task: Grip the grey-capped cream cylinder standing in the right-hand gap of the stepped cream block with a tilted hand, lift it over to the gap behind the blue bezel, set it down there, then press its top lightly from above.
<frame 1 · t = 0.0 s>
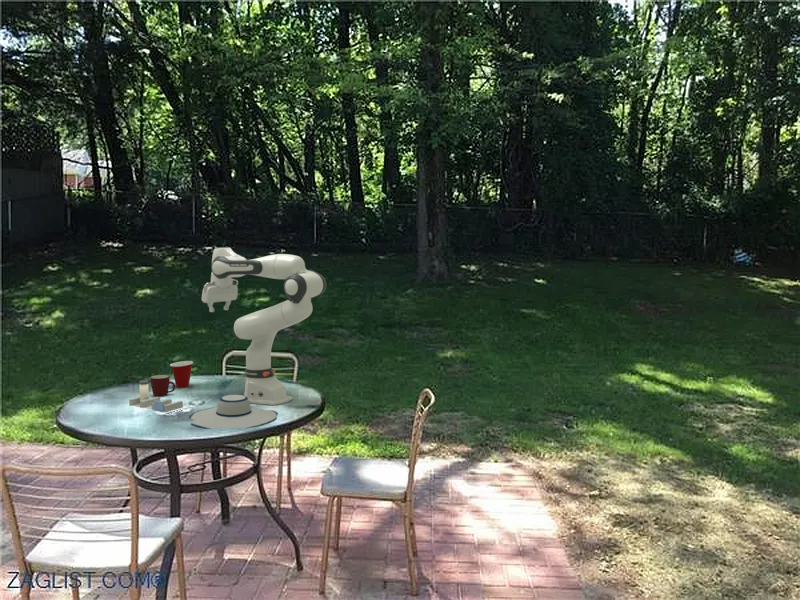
hand: (218, 310, 324), 39 cm above the table, tool pointing down, fingers open, 8 cm apart
sun hat: (233, 419, 285), on the table
stepped cream block: (156, 409, 296), on the table
mug: (163, 398, 316), on the table
plastic cup: (182, 387, 340), on the table
grey-capped cream cylinder: (144, 404, 299), point 1 cm above the table, touching stepped cream block
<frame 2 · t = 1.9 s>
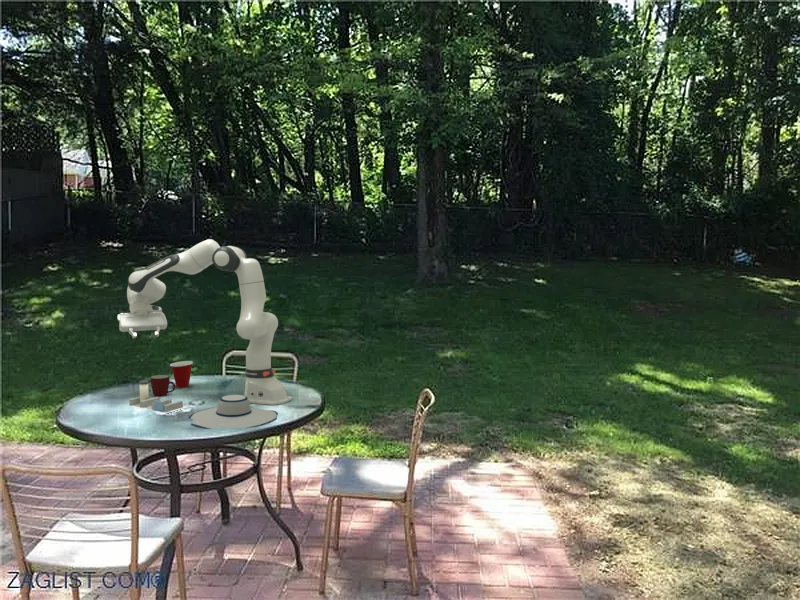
hand: (145, 336, 308), 29 cm above the table, tool tilted 45°, fingers open, 8 cm apart
nothing on the table moved.
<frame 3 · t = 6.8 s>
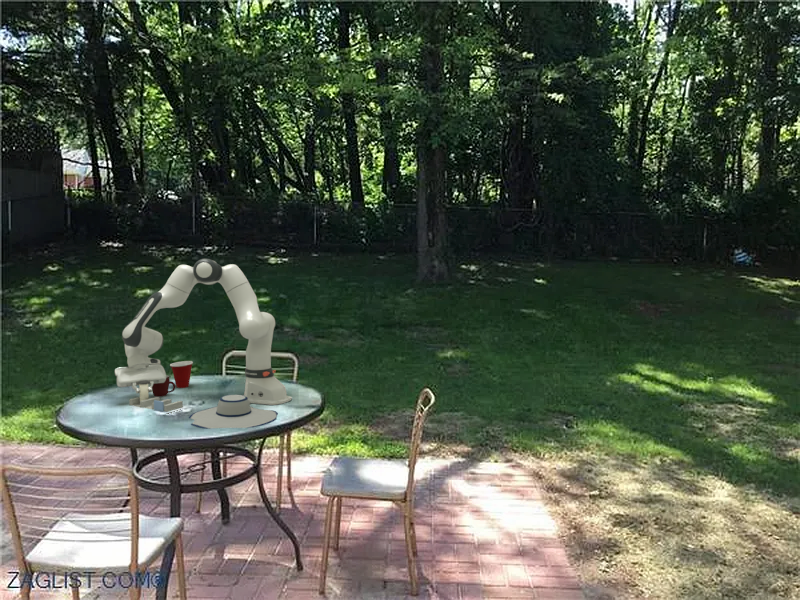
hand: (144, 392, 298), 7 cm above the table, tool tilted 45°, fingers closed on grey-capped cream cylinder, 4 cm apart
grey-capped cream cylinder: (144, 404, 299), point 1 cm above the table, touching stepped cream block, gripper
everything else where it was.
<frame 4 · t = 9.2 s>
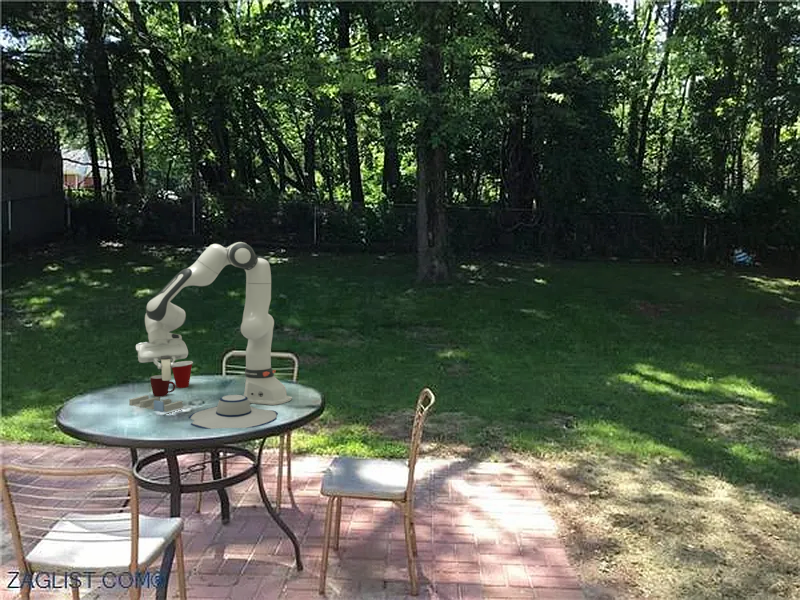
hand: (166, 367, 291), 19 cm above the table, tool tilted 45°, fingers closed on grey-capped cream cylinder, 4 cm apart
grey-capped cream cylinder: (166, 379, 292), point 14 cm above the table, touching gripper
everything else where it was.
when the fingers open (8 cm above the table, at t = 11.8 s): grey-capped cream cylinder drops 1 cm, resting on stepped cream block.
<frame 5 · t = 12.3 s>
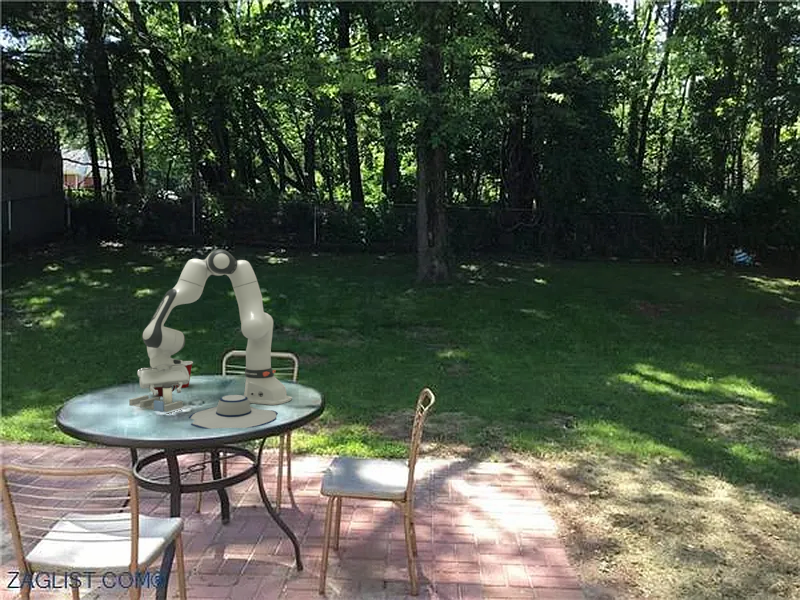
hand: (167, 393, 292), 8 cm above the table, tool tilted 45°, fingers open, 8 cm apart
grey-capped cream cylinder: (167, 408, 293), point 2 cm above the table, touching stepped cream block
everything else where it was.
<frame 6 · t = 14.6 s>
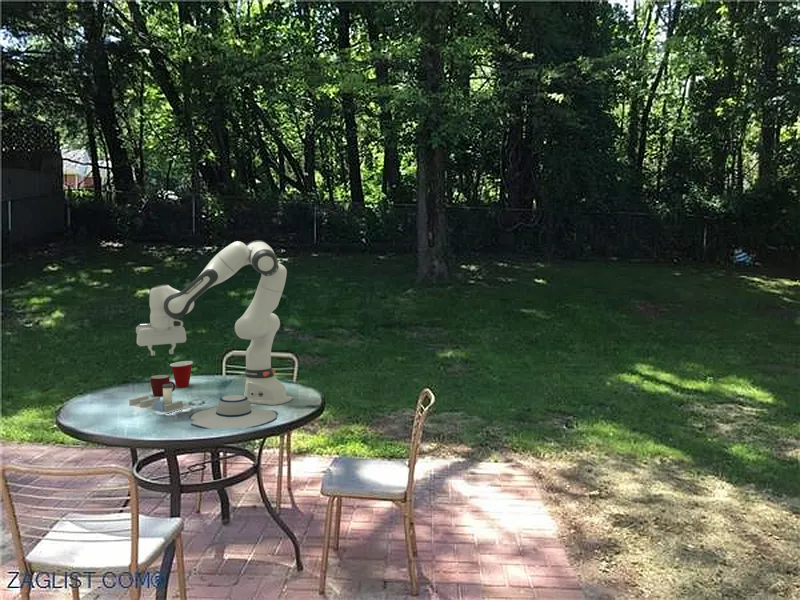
hand: (162, 354, 299), 23 cm above the table, tool pointing down, fingers open, 6 cm apart
nothing on the table moved.
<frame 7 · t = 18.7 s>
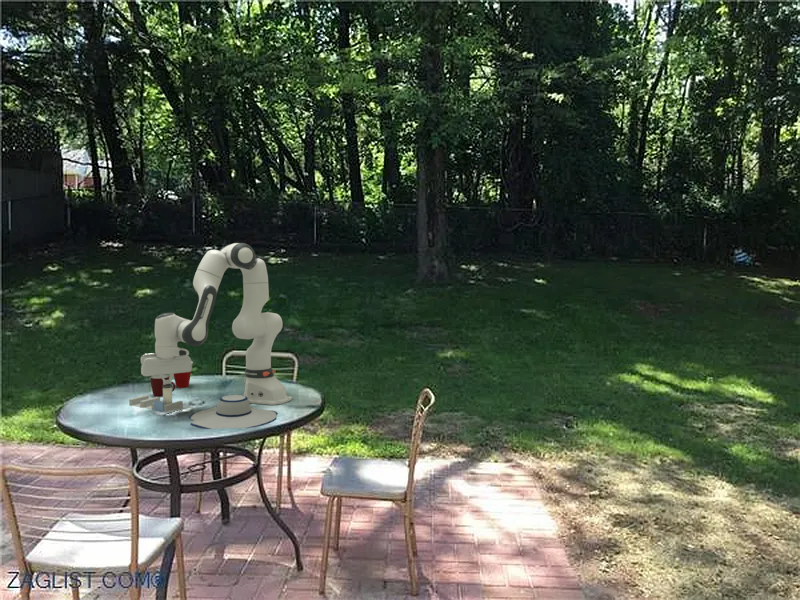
hand: (167, 384, 292), 12 cm above the table, tool pointing down, fingers closed
nothing on the table moved.
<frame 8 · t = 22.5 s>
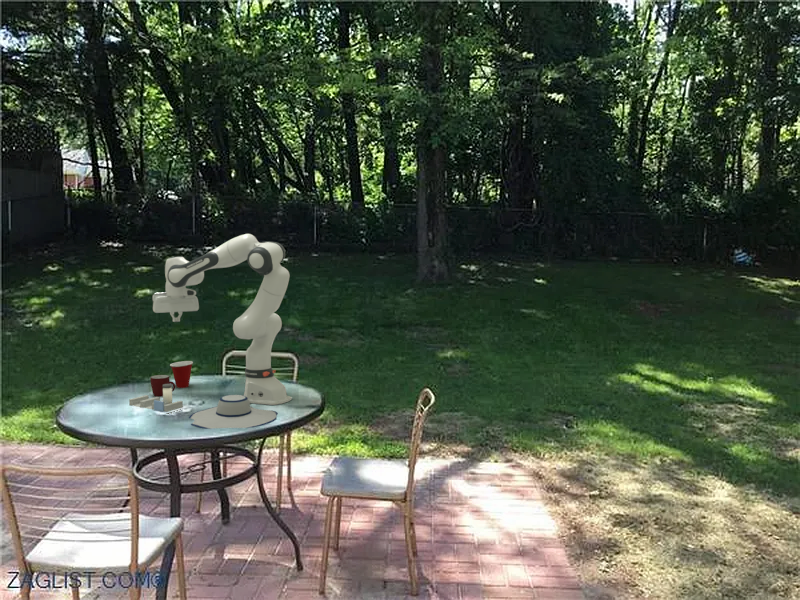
hand: (176, 321, 321), 34 cm above the table, tool pointing down, fingers closed
nothing on the table moved.
at the end: grey-capped cream cylinder 0.1 cm from the target spot on the stepped cream block, point 1.5 cm above the stepped cream block's base; grey-capped cream cylinder tilted 0°; the gripper is holding nothing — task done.
